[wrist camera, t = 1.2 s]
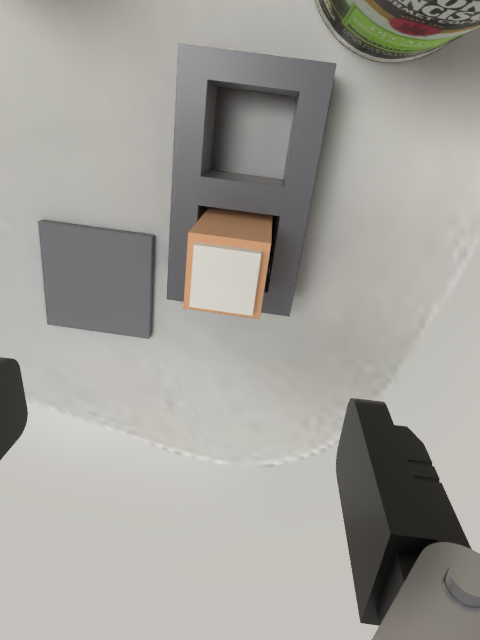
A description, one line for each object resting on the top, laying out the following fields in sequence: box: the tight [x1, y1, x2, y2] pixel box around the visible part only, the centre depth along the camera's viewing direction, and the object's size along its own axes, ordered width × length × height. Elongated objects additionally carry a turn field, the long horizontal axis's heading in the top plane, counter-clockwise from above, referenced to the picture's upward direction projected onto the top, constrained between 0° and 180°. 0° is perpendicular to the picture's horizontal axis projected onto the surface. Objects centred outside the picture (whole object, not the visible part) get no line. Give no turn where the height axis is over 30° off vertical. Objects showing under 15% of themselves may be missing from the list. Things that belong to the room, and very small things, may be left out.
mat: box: [38, 220, 154, 339], centre depth 31 cm, size 8×8×1 cm
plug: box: [183, 207, 272, 319], centre depth 24 cm, size 4×4×10 cm
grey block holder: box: [167, 44, 336, 316], centre depth 26 cm, size 8×14×4 cm, turn 173°
